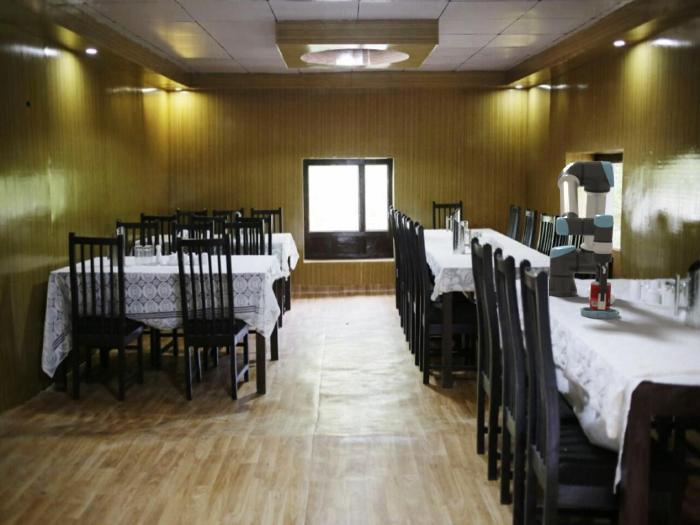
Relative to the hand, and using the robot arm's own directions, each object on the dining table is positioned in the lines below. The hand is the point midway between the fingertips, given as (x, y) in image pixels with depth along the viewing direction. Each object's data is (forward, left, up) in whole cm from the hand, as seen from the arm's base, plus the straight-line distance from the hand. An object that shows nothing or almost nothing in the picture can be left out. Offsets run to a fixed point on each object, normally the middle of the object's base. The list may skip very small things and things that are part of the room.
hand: (599, 307), depth 319 cm
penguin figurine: (-28, +5, -4) cm, 29 cm away
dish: (0, 0, -3) cm, 3 cm away
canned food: (0, 0, -1) cm, 1 cm away
